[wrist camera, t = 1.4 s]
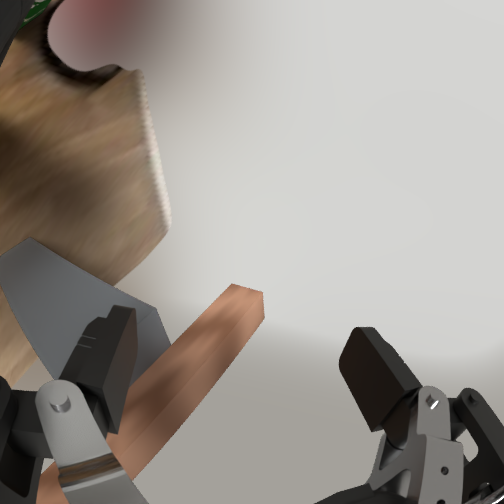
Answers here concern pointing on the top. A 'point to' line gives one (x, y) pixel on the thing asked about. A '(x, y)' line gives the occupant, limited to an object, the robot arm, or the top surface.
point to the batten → (175, 384)
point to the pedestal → (69, 306)
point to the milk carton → (35, 11)
